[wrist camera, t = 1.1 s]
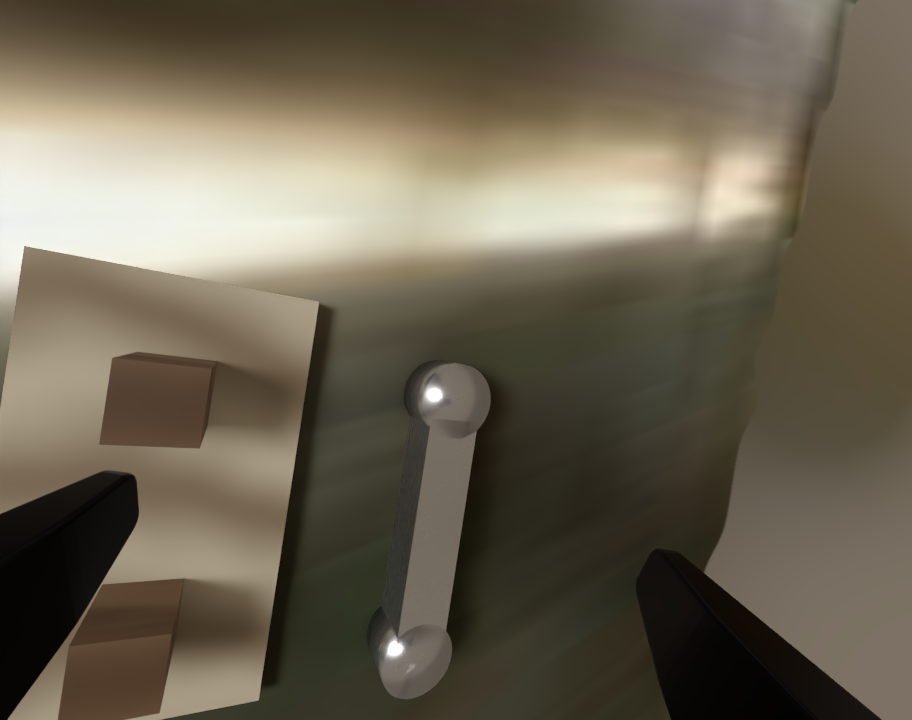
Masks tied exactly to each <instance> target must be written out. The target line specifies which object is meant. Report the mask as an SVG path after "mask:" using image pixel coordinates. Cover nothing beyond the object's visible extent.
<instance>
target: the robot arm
mask: <svg viewBox="0 0 912 720" xmlns="http://www.w3.org/2000/svg"><path fill="white" fill-rule="evenodd" d="M138 517H139V503H138V490H137V480H136V477H135V476H134V475H133V474H131V473H127V472H120V471H113V470H104V471H101V472H98V473H96V474H93V475H91V476H89V477H86V478H84V479H81V480H79V481H77V482H74V483H72V484H70V485H67V486H65V487H62V488H60V489H58V490H55V491H53V492H51V493H48V494H46V495H43V496H41V497H39V498H36V499H34V500H32V501H29V502H27V503H24V504H22V505H20V506H17V507H15V508H13V509H10V510H8V511H5V512H3V513H1V514H0V720H7V719H8V718H9V717H10V715H11V714H12V713H13V711H14V710H15V709H16V707H17V706H18V704H19V703H20V702H21V700H22V699H23V698H24V696H25V695H26V693H27V692H28V691H29V689H30V688H31V687H32V685H33V684H34V683H35V681H36V680H37V678H38V677H39V676H40V674H41V673H42V672H43V670H44V669H45V667H46V666H47V665H48V663H49V662H50V661H51V659H52V658H53V656H54V655H55V654H56V652H57V651H58V650H59V648H60V647H61V646H62V644H63V643H64V641H65V640H66V639H67V637H68V636H69V634H70V633H71V631H72V630H73V629H74V627H75V626H76V624H77V623H78V621H79V620H80V618H81V616H82V615H83V613H84V612H85V610H86V608H87V607H88V605H89V603H90V602H91V600H92V598H93V597H94V595H95V593H96V592H97V590H98V588H99V587H100V585H101V583H102V582H103V580H104V578H105V577H106V575H107V573H108V572H109V570H110V568H111V567H112V565H113V563H114V562H115V560H116V558H117V557H118V555H119V553H120V552H121V550H122V548H123V547H124V545H125V543H126V542H127V540H128V538H129V536H130V535H131V533H132V531H133V530H134V528H135V526H136V524H137V521H138ZM636 593H637V598H638V602H639V606H640V610H641V614H642V618H643V622H644V626H645V630H646V634H647V638H648V642H649V646H650V650H651V654H652V658H653V662H654V666H655V670H656V673H657V677H658V681H659V684H660V687H661V690H662V693H663V697H664V700H665V703H666V706H667V709H668V711H669V714H670V717H671V720H881V719H880V718H879V717H878V716H877V715H875V714H874V713H873V712H872V711H871V710H869V709H868V708H867V707H866V706H864V705H863V704H862V703H861V702H860V701H858V700H857V699H856V698H855V697H853V696H852V695H851V694H850V693H849V692H847V691H846V690H845V689H844V688H843V687H841V686H840V685H839V684H837V682H835V681H834V680H833V679H832V678H830V677H829V676H828V675H827V674H826V673H824V672H823V671H822V670H821V669H819V668H818V667H817V666H816V665H815V664H813V663H812V662H811V661H810V660H808V659H807V658H806V657H805V656H804V655H803V654H801V653H800V652H799V651H798V650H797V649H795V648H794V647H793V646H792V645H790V644H789V643H788V642H787V641H785V640H784V639H783V638H782V637H781V636H779V635H778V634H777V633H776V632H775V631H773V630H772V629H771V628H770V627H768V626H767V625H766V624H765V623H764V622H762V621H761V620H760V619H759V618H758V617H756V616H755V615H754V614H753V613H752V612H750V611H749V610H748V609H747V608H745V607H744V606H743V605H742V604H741V603H739V602H738V601H737V600H736V599H735V598H733V597H732V596H731V595H730V594H728V593H727V592H726V591H725V590H724V589H722V588H721V587H720V586H719V585H718V584H716V583H715V582H714V581H713V580H712V579H710V578H709V577H708V576H707V575H705V574H704V573H703V572H702V571H701V570H699V569H698V568H697V567H696V566H695V565H693V564H692V563H691V562H690V561H689V560H687V559H686V558H685V557H684V556H682V555H681V554H680V553H678V552H676V551H671V550H664V549H655V550H654V551H652V552H651V554H650V555H649V557H648V559H647V561H646V563H645V565H644V567H643V568H642V570H641V572H640V574H639V576H638V578H637V582H636Z"/></svg>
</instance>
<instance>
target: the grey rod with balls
mask: <svg viewBox="0 0 912 720" xmlns="http://www.w3.org/2000/svg"><path fill="white" fill-rule="evenodd" d="M404 402H405V406H406V409H407V411H408V413H409V415H410V421H409V428H408V434H407V441H406V447H405V454H404V460H403V467H402V473H401V480H400V486H399V493H398V499H397V506H396V512H395V519H394V525H393V532H392V538H391V545H390V551H389V558H388V565H387V571H386V578H385V584H384V591H383V597H382V604H381V607H380V608H379V609H378V610H377V611H376V613H375V614H374V616H373V617H372V619H371V621H370V624H369V627H368V631H367V642H368V646H369V649H370V651H371V654H372V656H373V659H374V661H375V664H376V667H377V669H378V672H379V674H380V677H381V679H382V682H383V684H384V687H385V688H386V690H387V691H388V692H389V693H390V694H391V695H392V696H394V697H396V698H399V699H411V698H415V697H418V696H421V695H423V694H425V693H426V692H428V691H429V690H431V689H432V688H433V687H434V686H435V685H436V684H437V683H438V682H439V681H440V680H441V678H442V677H443V675H444V674H445V672H446V670H447V668H448V666H449V663H450V660H451V656H452V643H451V639H450V637H449V635H448V633H447V632H446V627H447V621H448V614H449V608H450V601H451V595H452V588H453V582H454V575H455V569H456V562H457V556H458V549H459V543H460V536H461V530H462V523H463V517H464V510H465V504H466V497H467V491H468V484H469V478H470V471H471V465H472V458H473V452H474V445H475V439H476V432H477V429H478V428H479V427H480V426H481V425H482V424H483V422H484V421H485V419H486V417H487V415H488V412H489V408H490V402H491V395H490V389H489V386H488V383H487V381H486V380H485V378H484V377H483V375H482V374H481V373H480V372H479V371H477V370H476V369H475V368H473V367H470V366H468V365H463V364H457V363H452V362H446V361H439V360H434V361H429V362H426V363H424V364H422V365H420V366H419V367H417V368H416V369H415V370H414V371H413V372H412V374H411V375H410V377H409V378H408V380H407V382H406V385H405V390H404Z"/></svg>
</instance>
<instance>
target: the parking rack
mask: <svg viewBox="0 0 912 720" xmlns="http://www.w3.org/2000/svg"><path fill="white" fill-rule="evenodd" d="M318 307H319V302H317V301H312V300H306V299H301V298H296V297H291V296H285V295H280V294H275V293H269V292H264V291H259V290H254V289H248V288H243V287H238V286H232V285H227V284H222V283H216V282H211V281H206V280H201V279H195V278H190V277H185V276H179V275H174V274H169V273H163V272H158V271H153V270H148V269H142V268H137V267H132V266H126V265H121V264H116V263H110V262H105V261H100V260H95V259H89V258H84V257H79V256H73V255H68V254H63V253H57V252H52V251H47V250H42V249H36V248H31V247H26V246H24V253H23V260H22V266H21V273H20V280H19V286H18V293H17V300H16V306H15V313H14V320H13V326H12V333H11V340H10V347H9V353H8V360H7V367H6V373H5V380H4V387H3V393H2V400H1V407H0V514H1V513H3V512H5V511H8V510H10V509H13V508H15V507H17V506H20V505H22V504H24V503H27V502H29V501H32V500H34V499H36V498H39V497H41V496H43V495H46V494H48V493H51V492H53V491H55V490H58V489H60V488H62V487H65V486H67V485H70V484H72V483H74V482H77V481H79V480H81V479H84V478H86V477H89V476H91V475H93V474H96V473H98V472H101V471H104V470H113V471H120V472H127V473H131V474H133V475H134V476H135V477H136V480H137V490H138V503H139V517H138V521H137V524H136V526H135V528H134V530H133V531H132V533H131V535H130V536H129V538H128V540H127V542H126V543H125V545H124V547H123V548H122V550H121V552H120V553H119V555H118V557H117V558H116V560H115V562H114V563H113V565H112V567H111V568H110V570H109V572H108V573H107V575H106V577H105V578H104V580H103V582H102V583H101V585H100V587H99V588H98V590H97V592H96V593H95V595H94V597H93V598H92V600H91V602H90V603H89V605H88V607H87V608H86V610H85V612H84V613H83V615H82V616H81V618H80V620H79V621H78V623H77V624H76V626H75V627H74V629H73V630H72V631H71V633H70V634H69V636H68V637H67V639H66V640H65V641H64V643H63V644H62V646H61V647H60V648H59V650H58V651H57V652H56V654H55V655H54V656H53V658H52V659H51V661H50V662H49V663H48V665H47V666H46V667H45V669H44V670H43V672H42V673H41V674H40V676H39V677H38V678H37V680H36V681H35V683H34V684H33V685H32V687H31V688H30V689H29V691H28V692H27V693H26V695H25V696H24V698H23V699H22V700H21V702H20V703H19V704H18V706H17V707H16V709H15V710H14V711H13V713H12V714H11V715H10V717H9V718H8V719H7V720H161V719H166V718H171V717H176V716H181V715H186V714H191V713H196V712H202V711H207V710H212V709H217V708H222V707H227V706H232V705H238V704H243V703H248V702H253V701H258V700H259V694H260V687H261V681H262V674H263V668H264V661H265V654H266V648H267V641H268V635H269V628H270V622H271V615H272V608H273V602H274V595H275V589H276V582H277V576H278V569H279V563H280V556H281V549H282V543H283V536H284V530H285V523H286V517H287V510H288V503H289V497H290V490H291V484H292V477H293V471H294V464H295V458H296V451H297V444H298V438H299V431H300V425H301V418H302V412H303V405H304V398H305V392H306V385H307V379H308V372H309V366H310V359H311V352H312V346H313V339H314V333H315V326H316V320H317V313H318Z"/></svg>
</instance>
